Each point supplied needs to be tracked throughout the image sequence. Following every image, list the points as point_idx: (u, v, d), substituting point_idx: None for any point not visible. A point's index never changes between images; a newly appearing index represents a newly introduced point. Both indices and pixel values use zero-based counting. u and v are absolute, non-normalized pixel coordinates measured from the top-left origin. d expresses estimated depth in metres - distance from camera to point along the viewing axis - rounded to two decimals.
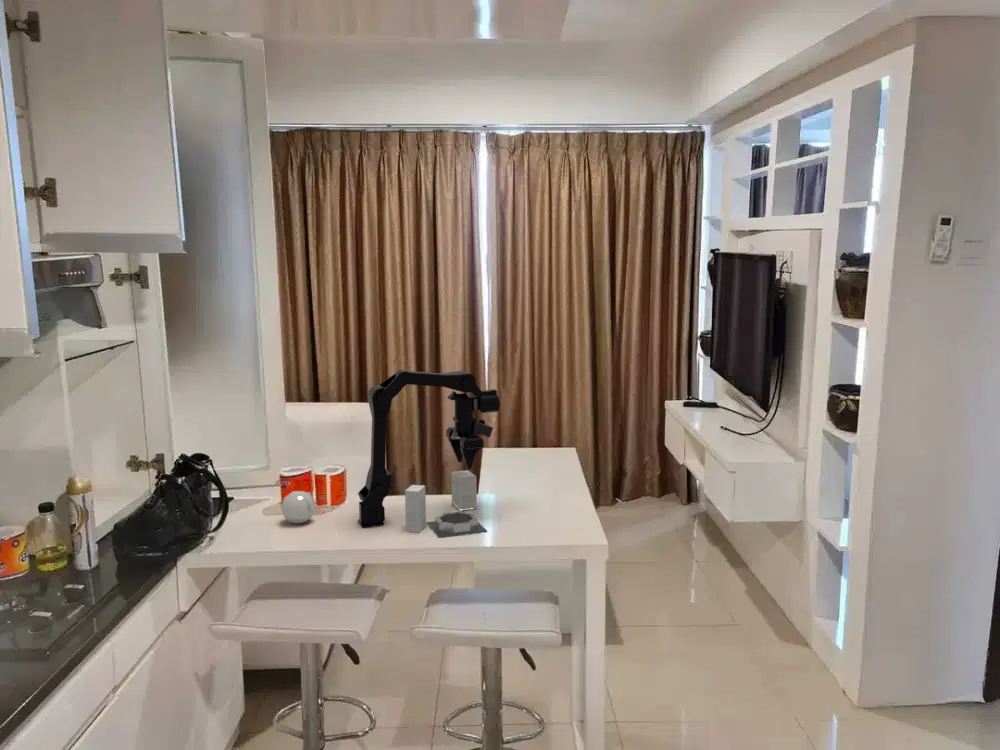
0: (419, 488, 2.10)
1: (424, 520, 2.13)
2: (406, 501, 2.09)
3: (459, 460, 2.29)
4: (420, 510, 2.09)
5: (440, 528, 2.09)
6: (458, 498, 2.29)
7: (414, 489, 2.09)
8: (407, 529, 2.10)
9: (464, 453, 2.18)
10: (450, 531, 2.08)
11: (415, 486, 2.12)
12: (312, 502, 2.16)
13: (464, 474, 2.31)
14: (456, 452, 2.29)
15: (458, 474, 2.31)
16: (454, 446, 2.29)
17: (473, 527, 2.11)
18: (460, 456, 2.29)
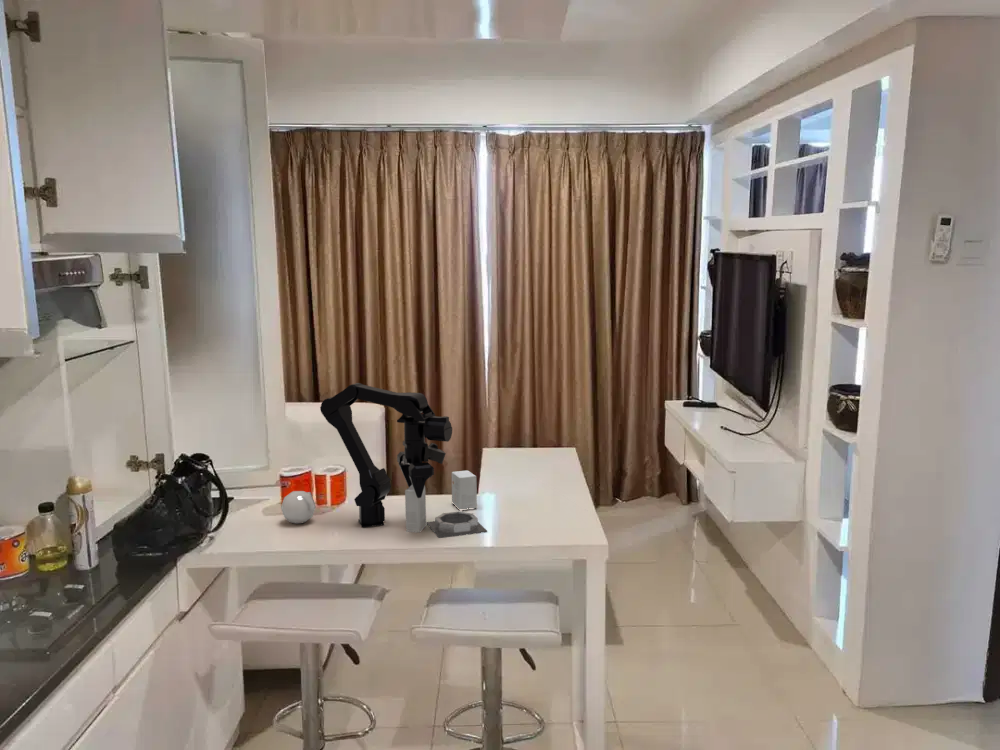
0: None
1: (424, 520, 2.13)
2: (406, 501, 2.09)
3: None
4: (420, 510, 2.09)
5: (440, 528, 2.09)
6: (458, 498, 2.29)
7: None
8: (407, 529, 2.10)
9: (413, 481, 2.04)
10: (450, 531, 2.08)
11: None
12: (312, 502, 2.16)
13: (464, 474, 2.31)
14: (407, 478, 2.15)
15: (458, 474, 2.31)
16: (405, 472, 2.15)
17: (473, 527, 2.11)
18: (411, 483, 2.15)
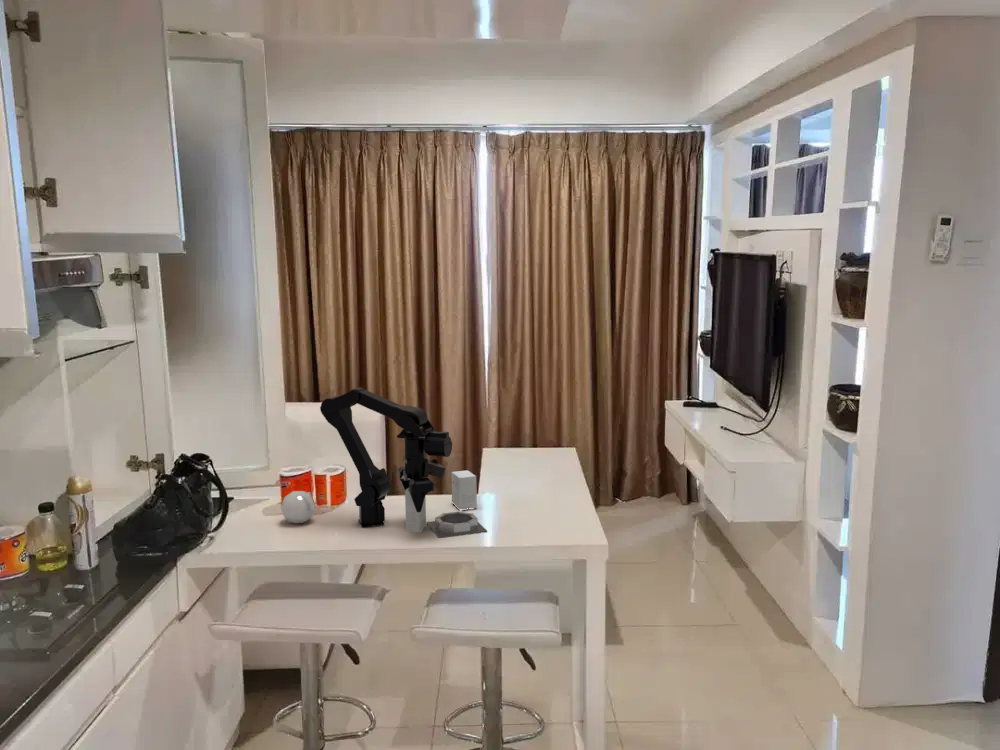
0: None
1: (424, 520, 2.13)
2: (406, 501, 2.09)
3: None
4: None
5: (440, 528, 2.09)
6: (458, 498, 2.29)
7: None
8: (407, 529, 2.10)
9: (412, 496, 2.05)
10: (450, 531, 2.08)
11: None
12: (312, 502, 2.17)
13: (464, 474, 2.31)
14: None
15: (458, 474, 2.31)
16: (406, 488, 2.15)
17: (473, 527, 2.11)
18: None
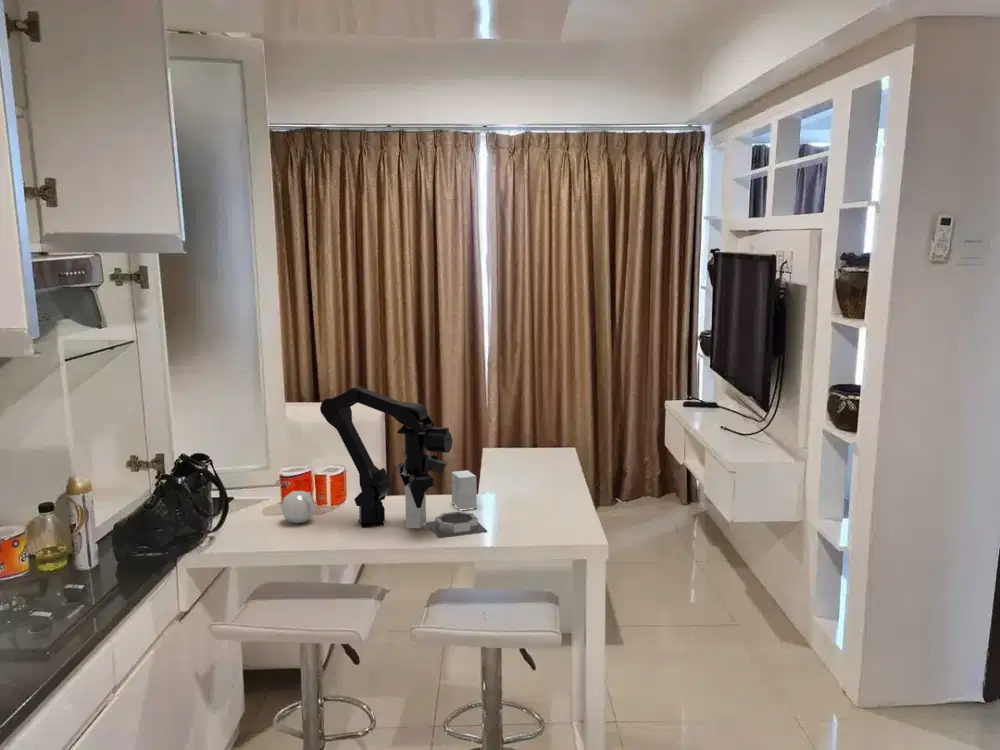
0: None
1: (424, 516, 2.13)
2: (406, 497, 2.09)
3: None
4: None
5: (440, 528, 2.09)
6: (458, 498, 2.29)
7: None
8: (407, 525, 2.10)
9: (412, 491, 2.05)
10: (450, 531, 2.08)
11: None
12: (312, 502, 2.17)
13: (464, 474, 2.31)
14: None
15: (458, 474, 2.31)
16: (406, 484, 2.14)
17: (473, 527, 2.11)
18: None
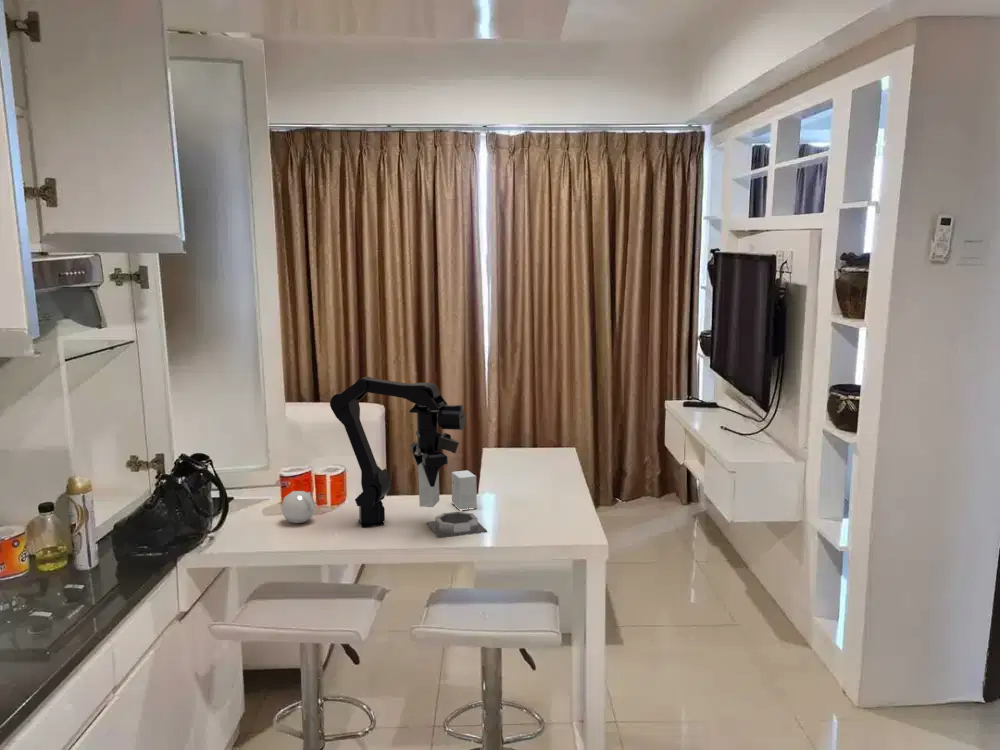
0: None
1: (437, 495, 2.12)
2: (419, 476, 2.08)
3: None
4: None
5: (440, 528, 2.09)
6: (458, 498, 2.29)
7: None
8: (421, 504, 2.09)
9: (426, 470, 2.05)
10: (450, 531, 2.08)
11: None
12: (312, 502, 2.17)
13: (464, 474, 2.31)
14: None
15: (458, 474, 2.31)
16: (419, 463, 2.14)
17: (473, 527, 2.11)
18: None
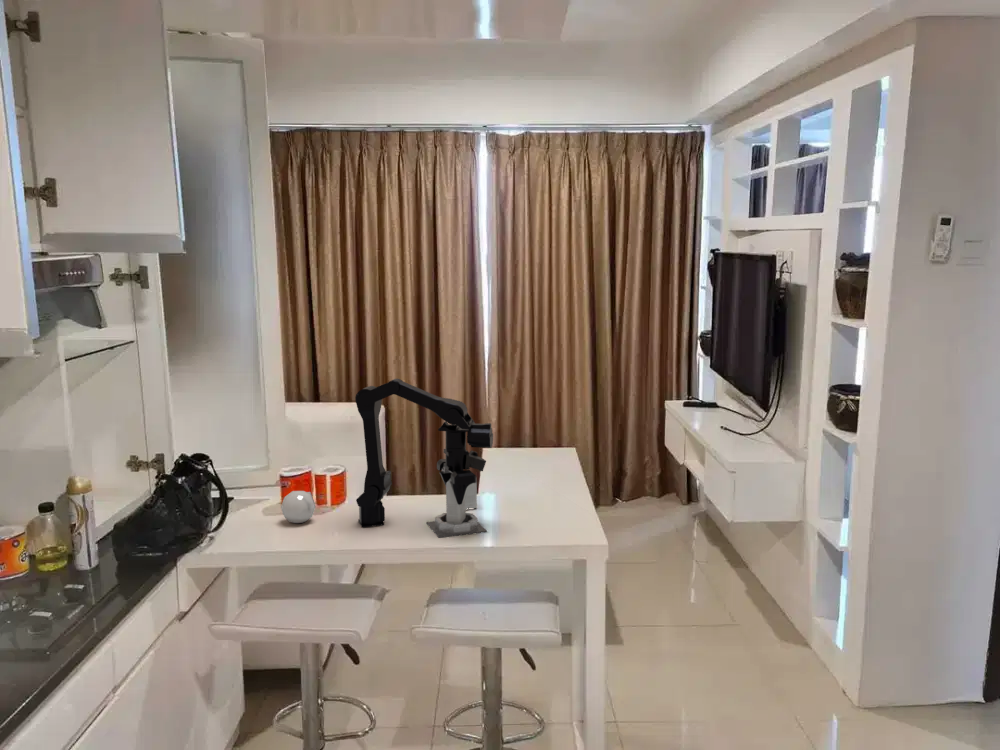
0: None
1: (464, 512, 2.14)
2: (447, 493, 2.10)
3: None
4: None
5: (440, 528, 2.09)
6: None
7: None
8: (448, 522, 2.11)
9: (454, 488, 2.06)
10: (450, 531, 2.08)
11: None
12: (312, 502, 2.17)
13: None
14: None
15: None
16: (446, 481, 2.15)
17: (473, 527, 2.11)
18: None
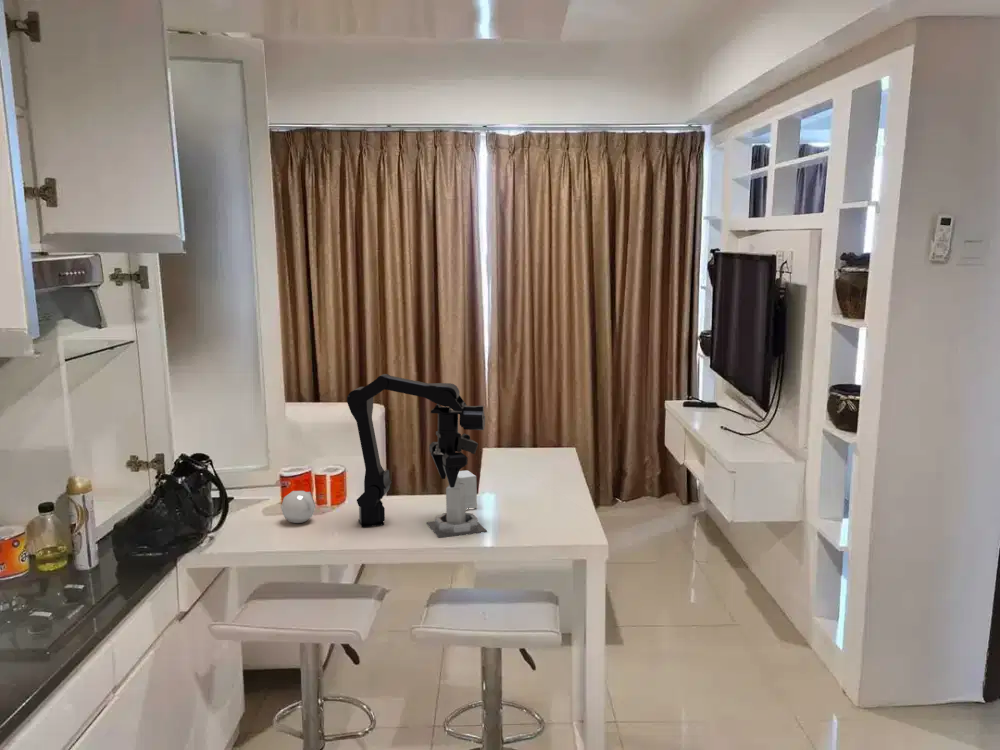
0: (460, 486, 2.11)
1: (464, 518, 2.14)
2: (447, 499, 2.10)
3: (442, 477, 2.17)
4: (461, 508, 2.10)
5: (440, 528, 2.09)
6: None
7: (455, 487, 2.10)
8: None
9: (446, 470, 2.06)
10: (450, 531, 2.08)
11: (455, 484, 2.13)
12: (312, 502, 2.17)
13: (464, 474, 2.31)
14: (439, 468, 2.17)
15: (458, 474, 2.31)
16: (438, 462, 2.17)
17: (473, 527, 2.11)
18: (443, 473, 2.17)
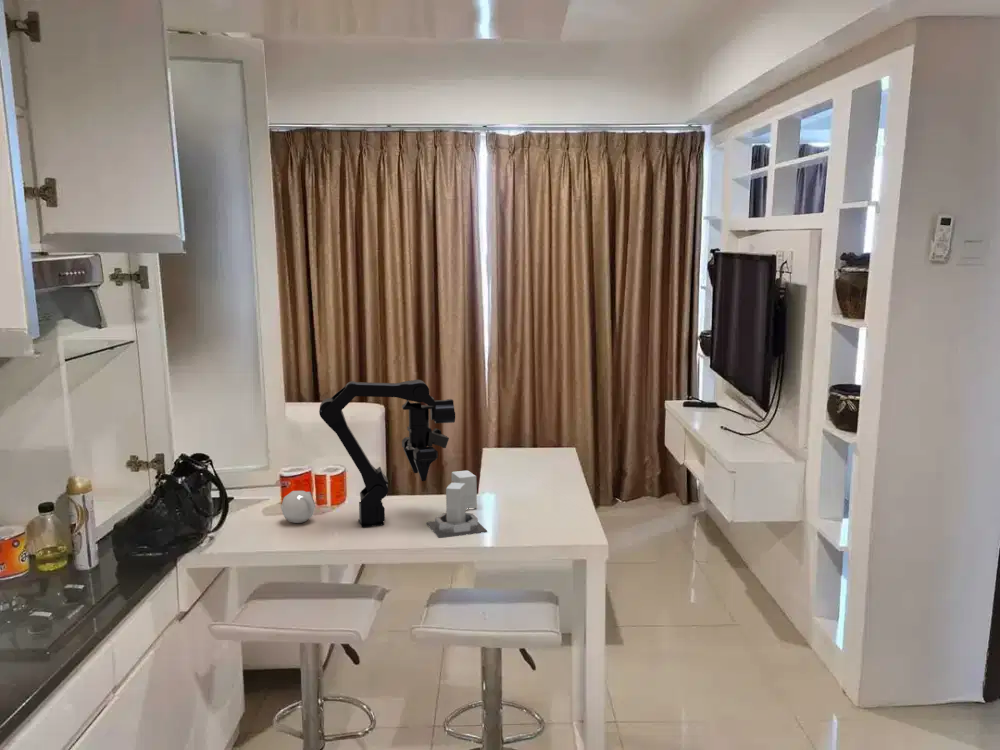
0: (460, 486, 2.11)
1: (464, 518, 2.14)
2: (447, 499, 2.10)
3: (415, 471, 2.22)
4: (461, 508, 2.10)
5: (440, 528, 2.09)
6: None
7: (455, 487, 2.10)
8: None
9: (418, 464, 2.11)
10: (450, 531, 2.08)
11: (455, 484, 2.13)
12: (311, 502, 2.17)
13: (464, 474, 2.31)
14: (412, 463, 2.22)
15: (458, 474, 2.31)
16: (410, 457, 2.22)
17: (473, 527, 2.11)
18: (416, 467, 2.22)
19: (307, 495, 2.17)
